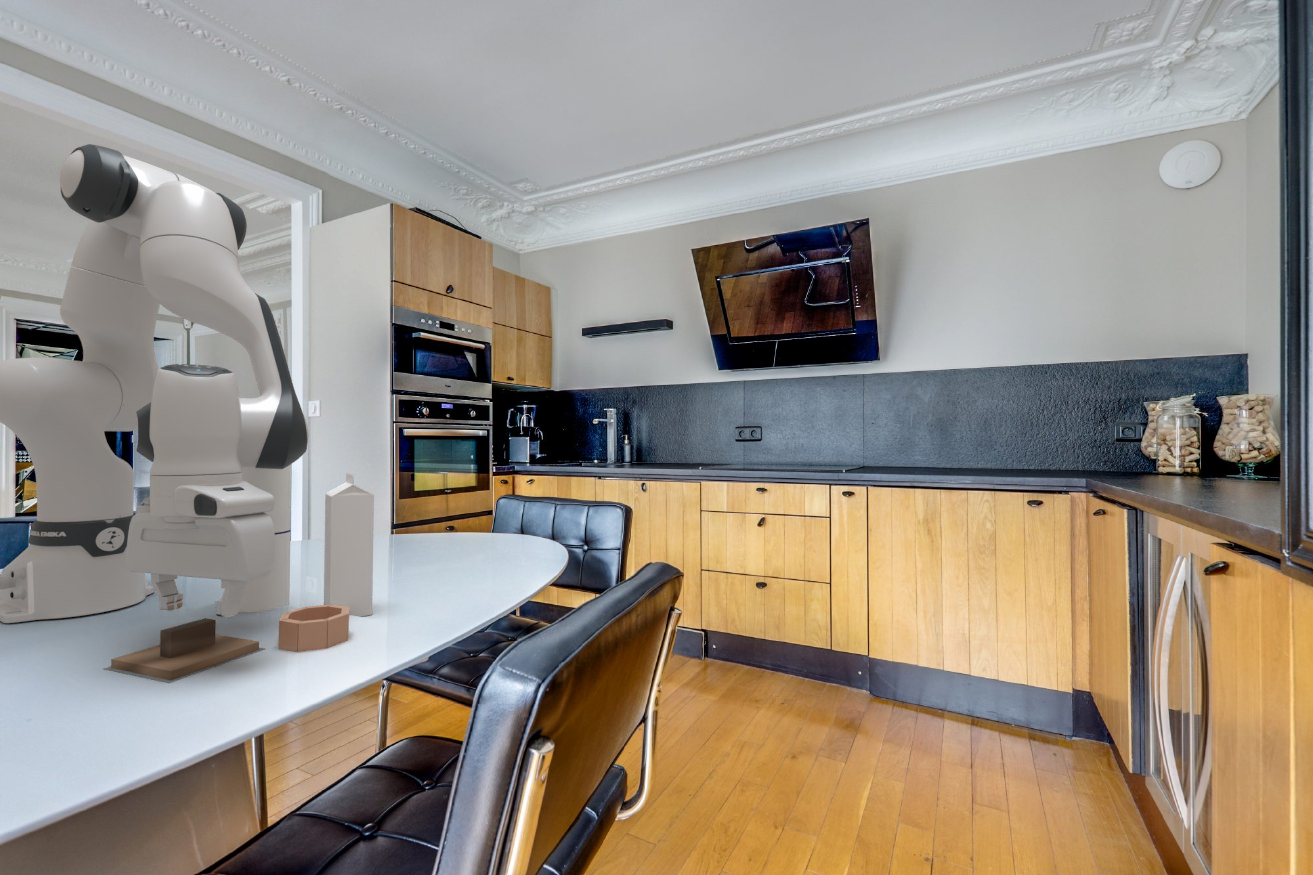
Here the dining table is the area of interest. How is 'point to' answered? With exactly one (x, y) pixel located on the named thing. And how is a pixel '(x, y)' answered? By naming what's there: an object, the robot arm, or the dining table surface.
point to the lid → (185, 651)
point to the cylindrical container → (277, 584)
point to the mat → (179, 677)
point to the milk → (349, 548)
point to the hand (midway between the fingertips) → (198, 612)
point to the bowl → (313, 628)
